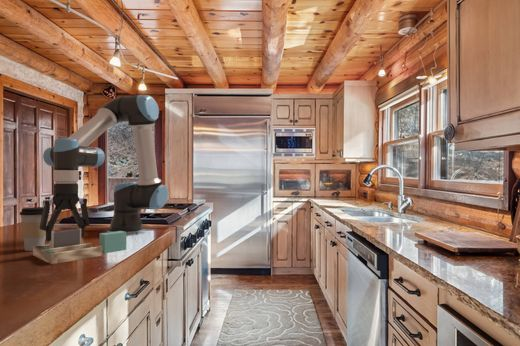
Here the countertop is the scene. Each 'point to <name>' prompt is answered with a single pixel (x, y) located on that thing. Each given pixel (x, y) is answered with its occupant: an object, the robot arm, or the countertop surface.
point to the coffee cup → (32, 227)
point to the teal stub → (113, 241)
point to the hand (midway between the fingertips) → (65, 248)
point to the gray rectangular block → (66, 237)
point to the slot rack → (66, 252)
